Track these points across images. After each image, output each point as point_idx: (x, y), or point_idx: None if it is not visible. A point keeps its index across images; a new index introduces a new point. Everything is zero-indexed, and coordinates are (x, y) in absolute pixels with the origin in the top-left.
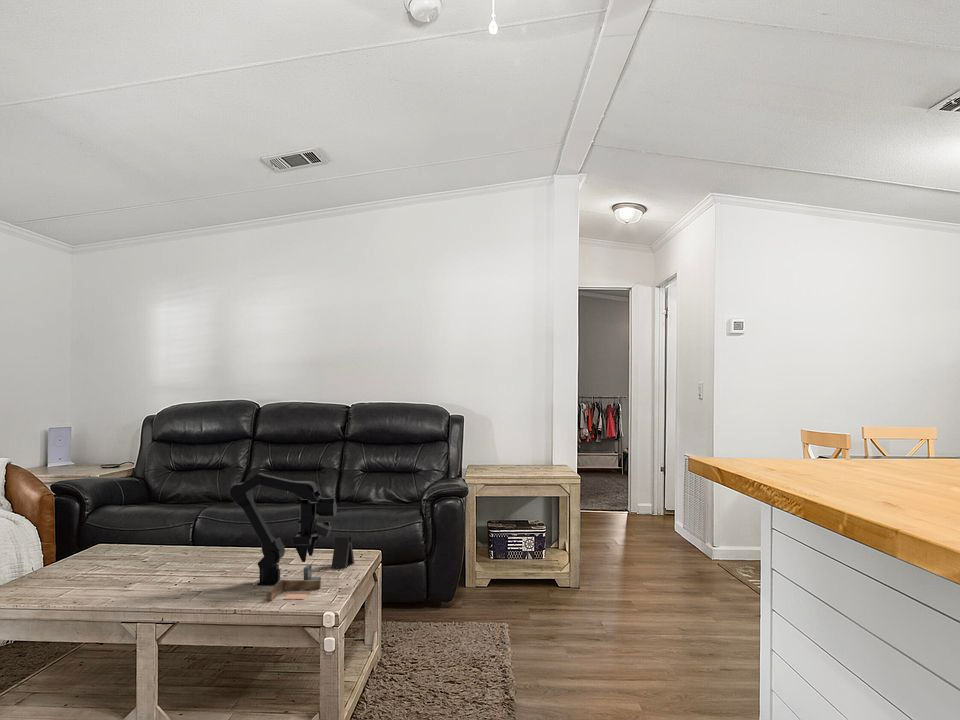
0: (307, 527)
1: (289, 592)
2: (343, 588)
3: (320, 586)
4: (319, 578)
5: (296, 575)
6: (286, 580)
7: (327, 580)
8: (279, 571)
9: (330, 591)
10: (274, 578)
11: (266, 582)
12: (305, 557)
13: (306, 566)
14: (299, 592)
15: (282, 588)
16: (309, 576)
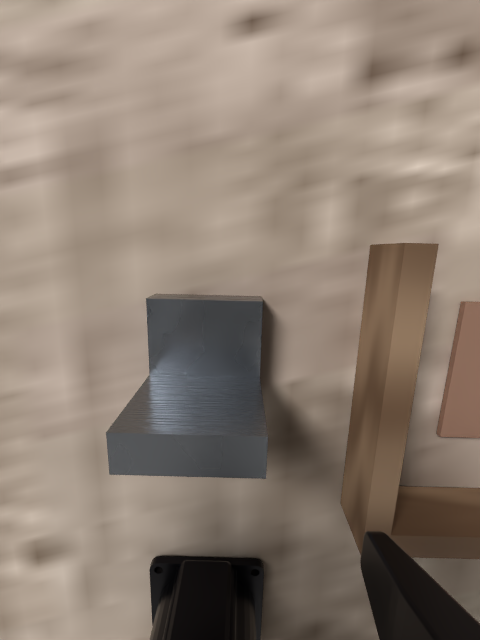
0: None
1: (459, 436)
2: (385, 33)
3: (380, 244)
4: (187, 299)
5: (34, 490)
6: (376, 522)
7: (143, 241)
8: (192, 631)
9: (457, 141)
10: (235, 602)
11: (255, 615)
12: (467, 613)
13: (189, 466)
14: (473, 372)
15: (403, 498)
16: (204, 384)
